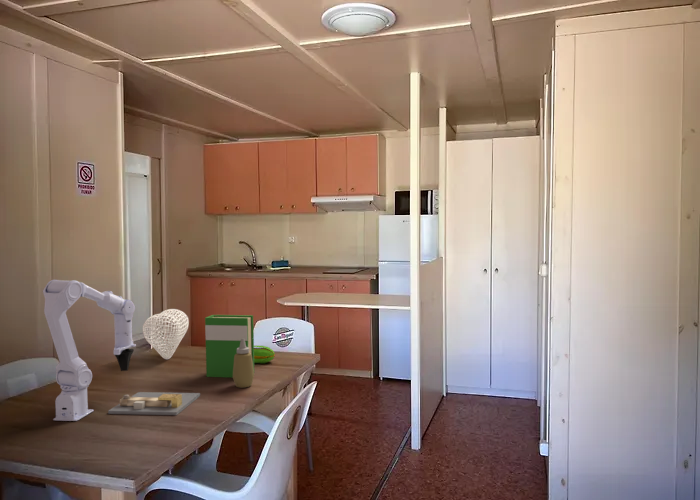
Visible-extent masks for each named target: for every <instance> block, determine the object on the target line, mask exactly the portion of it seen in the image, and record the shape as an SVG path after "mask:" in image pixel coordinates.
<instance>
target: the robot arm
mask: <svg viewBox="0 0 700 500" xmlns="http://www.w3.org/2000/svg"><path fill="white" fill-rule="evenodd" d="M42 294H43V297H44V309H43V313H44V316H45V319H46V322H47V326H48V328H49V332H50V337H52V341H53V345H54V348H55V351H56V355H57V358H58V360H59V363H58V364H57V365H56V366H55V372H56V374H55V381H56V383H57V384H58V385H59V386H60V389H61V392H60V393H59V395H57V397H56V398H55V402H54V403H55V417H54V418H53V419H52V420H53V421H61V422H62V421H63V422H64V421H65V422H67V421H69V422H71V421H73V422H78V421H79V420H81V419H83V418H84V417H86V416H88V415H90V414H91V413H94V410H95V409H91V408H90V409H89V403H88V387H90V386H89V385H90V384H91V382H92V379H93V373H92V371H91V369H89V367H88V365H87V362H86V361H84V360H83V359H82V358H81V357H80V356H79V352H78V349H77V345H76V342H75V340H74V335H73V333H72V330H71V326H70V324H69V320H68V316H67V311H68V310H70V309H71V307H72V306H74V304H75V303H76V302H77V301H78V300H79V299H80V298H81V297H82V298H86V299H87V300H92V301H93V302H96V305H97V307H98V308H102V309H104V310H106V311H109V312H110V313H111V314H112V315H113V323H114V325H113V326H114V348H113V355H114V357H115V359H116V360H117V361H118V365H119V369H120V371H121V372H127V371H128V370H129V368H130V362H131V357H132V355H133V353H134V348H135V347H136V346H137V344H136V343H134V340H133V327H132V326H133V323H132V320H133V319H134V313H135V310H136V306H135V304H134V302H133V301H132V300H131V299H124V298H123V296H121V295H116V294H114V292H113V291H111V290H105V291H102V292H100V290H99V291H98V290H97V289H95V288H93V287H91V286H89V285H87V284H85V283H84V282H82V281H78V280H76V279H74V280H73V279H72V280H62V279H52V280H49V281H48V282H47V284H46V285H45V286H44V289H43V290H42Z"/></svg>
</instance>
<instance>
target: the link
mask: <svg viewBox="0 0 700 500" xmlns="http://www.w3.org/2000/svg"><path fill="white" fill-rule="evenodd" d="M136 401H145V406H154V407H168V406H169V405H170V404H171V400H158V398H151V397H131V396H130V394H124V395H122V398H120V399H119V404H120V406H134V402H136Z"/></svg>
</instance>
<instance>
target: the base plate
mask: <svg viewBox="0 0 700 500" xmlns="http://www.w3.org/2000/svg"><path fill="white" fill-rule="evenodd" d="M162 394H182V405H180V406H179V407H178V408H172V403H171V404H170V405H169V406H168V407H154V406H145V408H143V409H134V406H120V403H118V404H117V405H115V406H113V407H112V408H110V409H108V411H107V412H108V413H107V414H108V415H110V414H111V415H143V416H144V415H147V416H148V415H151V416H152V415H153V416H154V415H155V416H156V415H157V416H178V415H179V414H180V413H181V412H183V411H184V410H185V409H186V408H187V407H188V406H190V405H191V404H192V403H193V402H195V401H196V400H198V399H199V398H200V397H201V393H200V392H156V391H155V392H154V391H153V392H151V391H147V392H146V391H138V392H136V393H135V394H132V395H131V396H130V397H151V398H158V397H160V396H161V395H162Z"/></svg>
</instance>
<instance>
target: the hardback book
mask: <svg viewBox="0 0 700 500" xmlns="http://www.w3.org/2000/svg"><path fill="white" fill-rule="evenodd" d="M204 324H205V325H204V327H205V328H204V329H205V330H204V331H205V333H204V334H205V364H206V365H205V370H206V371H205V373H206V374H205V375H206V377H207V378H232V379H233V366H234V356H235V354H237V348H239V347H240V342H241V339H242V338H244V340H245V344H246V347H248V348H249V353H250V354H252V361H253V369H254V370H255V363H254V348H255V347H254V346H255V345H254V343H255V340H254V339H255V336H254V334H255V333H254V331H255V330H254V315H252V314H249V315H248V314H247V315H246V314H243V315H242V314H241V315H239V314H211V315H209V316H206V317H204Z"/></svg>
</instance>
